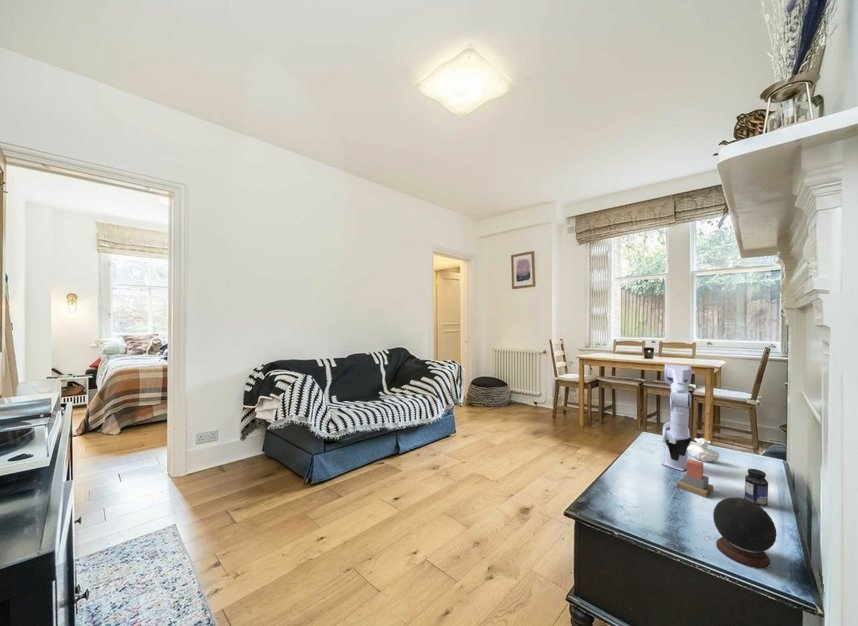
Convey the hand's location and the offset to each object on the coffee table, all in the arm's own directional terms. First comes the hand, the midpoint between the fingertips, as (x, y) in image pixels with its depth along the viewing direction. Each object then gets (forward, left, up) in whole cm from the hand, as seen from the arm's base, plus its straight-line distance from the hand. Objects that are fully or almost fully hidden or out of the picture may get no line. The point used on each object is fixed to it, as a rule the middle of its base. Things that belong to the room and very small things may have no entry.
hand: (678, 457), depth 139 cm
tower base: (0, +6, -10) cm, 12 cm away
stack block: (0, +6, -5) cm, 8 cm away
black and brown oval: (+33, +26, -10) cm, 43 cm away
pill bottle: (-7, +22, -10) cm, 25 cm away
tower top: (0, +6, -8) cm, 10 cm away
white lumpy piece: (-35, -1, -10) cm, 36 cm away
